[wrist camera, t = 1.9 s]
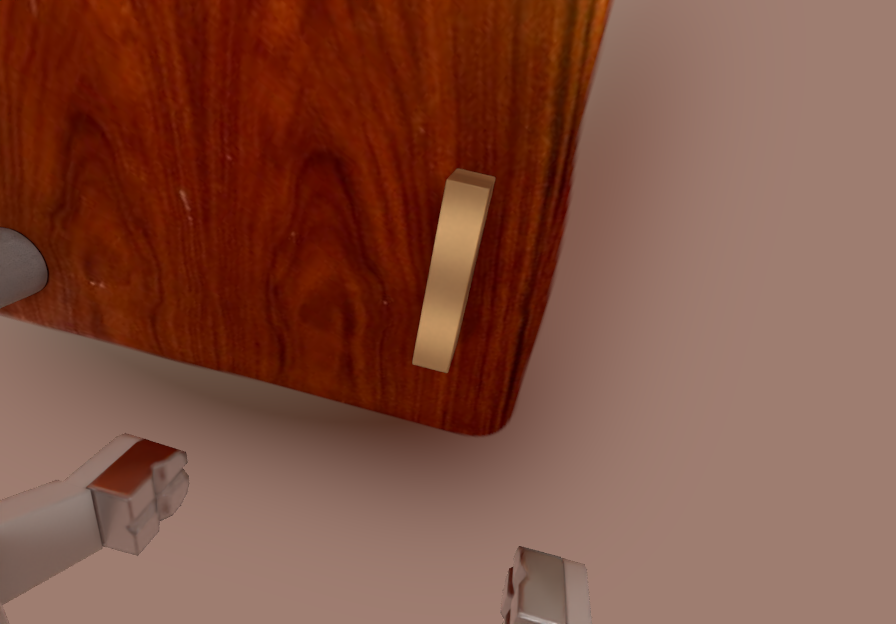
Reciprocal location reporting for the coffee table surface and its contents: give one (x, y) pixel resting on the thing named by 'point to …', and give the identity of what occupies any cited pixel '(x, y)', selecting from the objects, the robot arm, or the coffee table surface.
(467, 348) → the coffee table surface
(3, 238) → the grey hollow cylinder
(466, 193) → the tan wooden bar
